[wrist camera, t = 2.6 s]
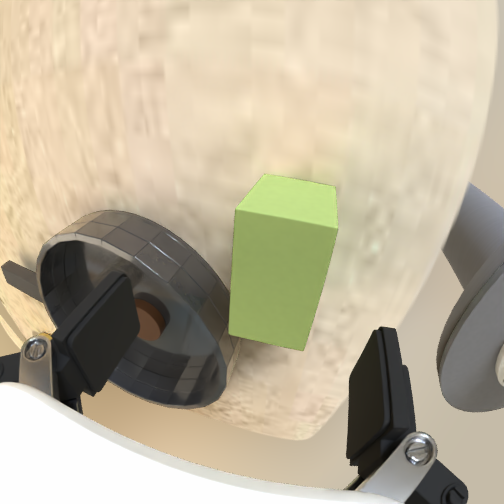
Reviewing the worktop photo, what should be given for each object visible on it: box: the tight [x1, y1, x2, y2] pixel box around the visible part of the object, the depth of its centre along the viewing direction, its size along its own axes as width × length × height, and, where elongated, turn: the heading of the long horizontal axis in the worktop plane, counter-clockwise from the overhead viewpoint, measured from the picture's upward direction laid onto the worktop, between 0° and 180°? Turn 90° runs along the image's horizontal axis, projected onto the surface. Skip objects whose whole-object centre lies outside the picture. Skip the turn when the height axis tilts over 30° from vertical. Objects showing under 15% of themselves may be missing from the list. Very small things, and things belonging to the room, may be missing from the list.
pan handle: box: [1, 260, 43, 303], centre depth 25 cm, size 10×2×2 cm, turn 85°
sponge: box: [228, 174, 338, 351], centre depth 15 cm, size 4×7×6 cm, turn 175°
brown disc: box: [134, 299, 165, 341], centre depth 23 cm, size 4×4×1 cm
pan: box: [36, 210, 241, 409], centre depth 23 cm, size 19×19×4 cm
